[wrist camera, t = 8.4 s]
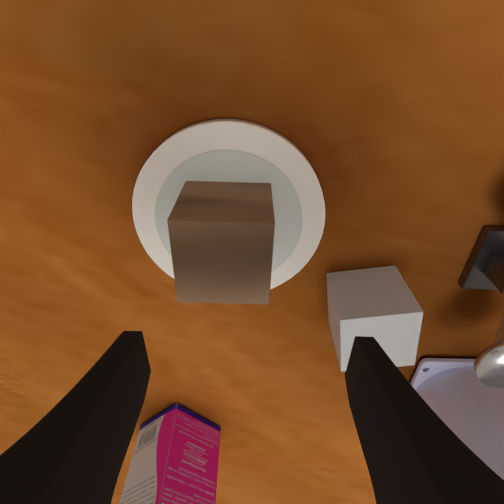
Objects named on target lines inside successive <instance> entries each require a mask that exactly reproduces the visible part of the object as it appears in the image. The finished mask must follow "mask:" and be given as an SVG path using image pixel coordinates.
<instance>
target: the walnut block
mask: <svg viewBox="0 0 504 504" xmlns="http://www.w3.org/2000/svg"><path fill="white" fill-rule="evenodd" d="M167 223H168V231H169V239H170V247H171V255H172V263H173V271H174V279H175V287H176V295H177V302H197V303H235V304H269V300H270V286H271V272H272V258H273V244H274V230H275V219H274V209H273V199H272V189H271V183H249V182H213V181H186V182H185V184H184V186H183V188H182V190H181V192H180V194H179V196H178V198H177V201H176V203H175V205H174V207H173V209H172V211H171V213H170V215H169V217H168V219H167Z"/></svg>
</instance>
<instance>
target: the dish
mask: <svg viewBox="0 0 504 504" xmlns="http://www.w3.org/2000/svg"><path fill="white" fill-rule="evenodd" d="M186 181H213V182H249V183H271V189H272V199H273V209H274V219H275V230H274V244H273V258H272V272H271V286H270V289H272V288H275V287H277V286H279V285H281V284H283V283H284V282H286V281H287V280H289V279H291V278H292V277H293V276H294V275H296V274H297V273H298V272H299V271H300V270H301V269H302V268H303V267H304V266H305V265H306V264H307V263H308V261H309V260H310V259H311V257H312V256H313V254H314V253H315V251H316V249H317V247H318V245H319V242H320V240H321V237H322V234H323V230H324V225H325V202H324V197H323V192H322V189H321V186H320V184H319V181H318V178H317V176H316V174H315V172H314V170H313V168H312V166H311V164H310V163H309V161H308V160H307V159H306V157H305V156H304V155H303V153H302V152H301V151H300V150H299V149H298V148H297V147H296V146H295V145H294V144H293V143H292V142H291V141H289V140H288V139H287V138H285V137H284V136H283V135H281V134H279V133H278V132H276V131H274V130H272V129H270V128H268V127H265V126H263V125H260V124H258V123H254V122H250V121H246V120H239V119H213V120H207V121H202V122H199V123H196V124H193V125H190V126H187V127H185V128H183V129H181V130H179V131H177V132H176V133H174V134H173V135H172V136H170V137H169V138H167V139H166V140H165V141H164V142H163V143H162V144H161V145H160V146H159V147H158V148H157V149H156V150H155V151H154V152H153V153H152V155H151V156H150V157H149V159H148V160H147V161H146V162H145V164H144V166H143V167H142V169H141V171H140V173H139V175H138V178H137V181H136V184H135V187H134V192H133V198H132V212H133V221H134V225H135V228H136V232H137V234H138V237H139V239H140V242H141V243H142V245H143V247H144V249H145V250H146V252H147V253H148V255H149V256H150V257H151V259H152V260H153V261H154V262H155V263H156V264H157V265H158V266H159V267H160V268H161V269H162V270H163V271H164V272H166V273H167V274H168V275H169V276H171V277H172V278H174V271H173V263H172V255H171V247H170V239H169V231H168V223H167V219H168V217H169V215H170V213H171V211H172V209H173V207H174V205H175V203H176V201H177V198H178V196H179V194H180V192H181V190H182V188H183V186H184V184H185V182H186Z"/></svg>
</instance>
